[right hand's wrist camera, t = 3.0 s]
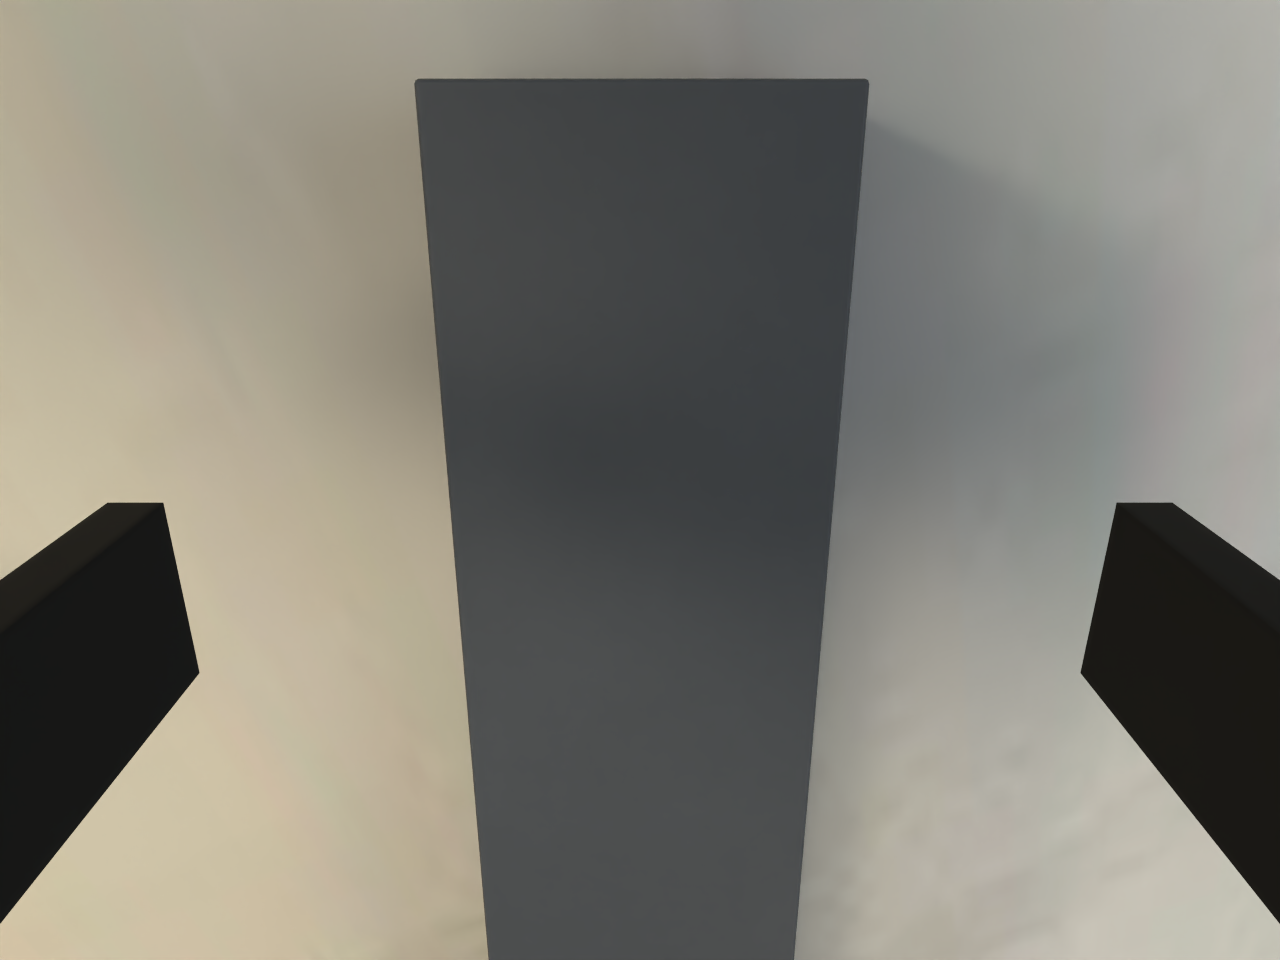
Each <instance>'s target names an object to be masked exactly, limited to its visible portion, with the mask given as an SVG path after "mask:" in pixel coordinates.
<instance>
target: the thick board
mask: <svg viewBox="0 0 1280 960" xmlns="http://www.w3.org/2000/svg"><path fill="white" fill-rule="evenodd" d="M414 85H415V97H416V109H417V120H418V132H419V144H420V156H421V168H422V179H423V191H424V203H425V215H426V227H427V238H428V250H429V262H430V274H431V285H432V297H433V309H434V321H435V333H436V344H437V356H438V368H439V380H440V391H441V403H442V415H443V427H444V439H445V450H446V462H447V474H448V486H449V498H450V509H451V521H452V533H453V545H454V556H455V568H456V580H457V592H458V604H459V615H460V627H461V639H462V651H463V662H464V674H465V686H466V698H467V710H468V721H469V733H470V745H471V757H472V769H473V780H474V792H475V804H476V816H477V827H478V839H479V851H480V863H481V875H482V886H483V898H484V910H485V922H486V934H487V945H488V957H489V960H794V951H795V939H796V927H797V916H798V904H799V893H800V881H801V869H802V858H803V846H804V835H805V823H806V811H807V800H808V788H809V777H810V765H811V753H812V742H813V730H814V719H815V707H816V695H817V684H818V672H819V661H820V649H821V637H822V626H823V614H824V603H825V591H826V579H827V568H828V556H829V545H830V533H831V522H832V510H833V498H834V487H835V475H836V464H837V452H838V440H839V429H840V417H841V406H842V394H843V382H844V371H845V359H846V348H847V336H848V324H849V313H850V301H851V290H852V278H853V266H854V255H855V243H856V232H857V220H858V208H859V197H860V185H861V174H862V162H863V150H864V139H865V127H866V116H867V104H868V92H869V81H868V80H866V79H417V80H415V84H414Z"/></svg>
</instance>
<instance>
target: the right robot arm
mask: <svg viewBox="0 0 1280 960" xmlns="http://www.w3.org/2000/svg"><path fill="white" fill-rule="evenodd" d="M198 674H199V668H198V664H197V659H196V654H195V650H194V645H193V640H192V636H191V631H190V626H189V621H188V617H187V612H186V607H185V603H184V598H183V593H182V589H181V584H180V579H179V575H178V570H177V565H176V560H175V556H174V551H173V546H172V542H171V537H170V532H169V528H168V523H167V518H166V513H165V509H164V504H163V503H107V504H105V505H104V506H102V507H101V508H100V509H98V510H97V511H95V512H94V513H93V514H91V515H90V516H89V517H87V518H86V519H84V520H83V521H82V522H80V523H79V524H77V525H76V526H75V527H73V528H72V529H71V530H69V531H68V532H66V533H65V534H64V535H62V536H61V537H59V538H58V539H57V540H55V541H54V542H53V543H51V544H50V545H48V546H47V547H46V548H44V549H43V550H41V551H40V552H39V553H37V554H36V555H35V556H33V557H32V558H30V559H29V560H28V561H26V562H25V563H23V564H22V565H21V566H19V567H18V568H17V569H15V570H14V571H12V572H11V573H10V574H8V575H7V576H5V577H4V578H3V579H1V580H0V923H1V922H2V921H3V919H4V918H5V917H6V916H7V914H8V913H9V912H10V911H11V909H12V908H13V907H14V906H15V904H16V903H17V902H18V901H19V899H20V898H21V897H22V896H23V894H24V893H25V892H26V891H27V889H28V888H29V887H30V886H31V884H32V883H33V882H34V880H35V879H36V878H37V877H38V875H39V874H40V873H41V872H42V870H43V869H44V868H45V867H46V865H47V864H48V863H49V862H50V860H51V859H52V858H53V857H54V855H55V854H56V853H57V852H58V850H59V849H60V848H61V846H62V845H63V844H64V843H65V841H66V840H67V839H68V838H69V836H70V835H71V834H72V833H73V831H74V830H75V829H76V828H77V826H78V825H79V824H80V823H81V821H82V820H83V819H84V818H85V816H86V815H87V814H88V813H89V811H90V810H91V809H92V807H93V806H94V805H95V804H96V802H97V801H98V800H99V799H100V797H101V796H102V795H103V794H104V792H105V791H106V790H107V789H108V787H109V786H110V785H111V784H112V782H113V781H114V780H115V779H116V777H117V776H118V775H119V774H120V772H121V771H122V770H123V768H124V767H125V766H126V765H127V763H128V762H129V761H130V760H131V758H132V757H133V756H134V755H135V753H136V752H137V751H138V750H139V748H140V747H141V746H142V745H143V743H144V742H145V741H146V740H147V738H148V737H149V736H150V734H151V733H152V732H153V731H154V729H155V728H156V727H157V726H158V724H159V723H160V722H161V721H162V719H163V718H164V717H165V716H166V714H167V713H168V712H169V711H170V709H171V708H172V707H173V706H174V704H175V703H176V702H177V701H178V699H179V698H180V697H181V695H182V694H183V693H184V692H185V690H186V689H187V688H188V687H189V685H190V684H191V683H192V682H193V680H194V679H195V678H196V677H197V675H198ZM1081 674H1082V675H1083V677H1084V678H1085V679H1086V680H1087V682H1088V683H1089V684H1090V685H1091V687H1092V688H1093V689H1094V690H1095V692H1096V693H1097V694H1098V695H1099V697H1100V698H1101V699H1102V701H1103V702H1104V703H1105V704H1106V706H1107V707H1108V708H1109V709H1110V711H1111V712H1112V713H1113V714H1114V716H1115V717H1116V718H1117V719H1118V721H1119V722H1120V723H1121V724H1122V726H1123V727H1124V728H1125V729H1126V731H1127V732H1128V733H1129V734H1130V736H1131V737H1132V738H1133V740H1134V741H1135V742H1136V743H1137V745H1138V746H1139V747H1140V748H1141V750H1142V751H1143V752H1144V753H1145V755H1146V756H1147V757H1148V758H1149V760H1150V761H1151V762H1152V763H1153V765H1154V766H1155V767H1156V768H1157V770H1158V771H1159V772H1160V774H1161V775H1162V776H1163V777H1164V779H1165V780H1166V781H1167V782H1168V784H1169V785H1170V786H1171V787H1172V789H1173V790H1174V791H1175V792H1176V794H1177V795H1178V796H1179V797H1180V799H1181V800H1182V801H1183V802H1184V804H1185V805H1186V806H1187V807H1188V809H1189V810H1190V811H1191V813H1192V814H1193V815H1194V816H1195V818H1196V819H1197V820H1198V821H1199V823H1200V824H1201V825H1202V826H1203V828H1204V829H1205V830H1206V831H1207V833H1208V834H1209V835H1210V836H1211V838H1212V839H1213V840H1214V841H1215V843H1216V844H1217V845H1218V846H1219V848H1220V849H1221V850H1222V852H1223V853H1224V854H1225V855H1226V857H1227V858H1228V859H1229V860H1230V862H1231V863H1232V864H1233V865H1234V867H1235V868H1236V869H1237V870H1238V872H1239V873H1240V874H1241V875H1242V877H1243V878H1244V879H1245V880H1246V882H1247V883H1248V884H1249V886H1250V887H1251V888H1252V889H1253V891H1254V892H1255V893H1256V894H1257V896H1258V897H1259V898H1260V899H1261V901H1262V902H1263V903H1264V904H1265V906H1266V907H1267V908H1268V909H1269V911H1270V912H1271V913H1272V914H1273V916H1274V917H1275V918H1276V919H1277V921H1278V922H1279V923H1280V580H1279V579H1277V578H1276V577H1275V576H1273V575H1272V574H1270V573H1269V572H1268V571H1266V570H1265V569H1263V568H1262V567H1261V566H1259V565H1258V564H1257V563H1255V562H1254V561H1252V560H1251V559H1250V558H1248V557H1247V556H1245V555H1244V554H1243V553H1241V552H1240V551H1239V550H1237V549H1236V548H1234V547H1233V546H1232V545H1230V544H1229V543H1227V542H1226V541H1225V540H1223V539H1222V538H1221V537H1219V536H1218V535H1216V534H1215V533H1214V532H1212V531H1211V530H1209V529H1208V528H1207V527H1205V526H1204V525H1203V524H1201V523H1200V522H1198V521H1197V520H1196V519H1194V518H1193V517H1191V516H1190V515H1189V514H1187V513H1186V512H1185V511H1183V510H1182V509H1180V508H1179V507H1178V506H1176V505H1175V504H1173V503H1117V504H1116V509H1115V513H1114V518H1113V523H1112V528H1111V532H1110V537H1109V542H1108V546H1107V551H1106V556H1105V560H1104V565H1103V570H1102V574H1101V579H1100V584H1099V589H1098V593H1097V598H1096V603H1095V607H1094V612H1093V617H1092V621H1091V626H1090V631H1089V636H1088V640H1087V645H1086V650H1085V654H1084V659H1083V664H1082V668H1081Z"/></svg>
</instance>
